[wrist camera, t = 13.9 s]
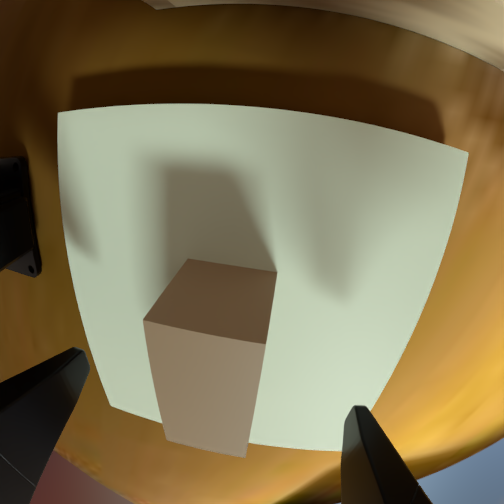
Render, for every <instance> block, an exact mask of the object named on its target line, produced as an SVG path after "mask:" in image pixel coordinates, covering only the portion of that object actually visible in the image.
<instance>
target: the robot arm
mask: <svg viewBox="0 0 504 504" xmlns="http://www.w3.org/2000/svg"><path fill="white" fill-rule="evenodd" d="M5 268H6V269H9V270H12V271H15V272H18V273H21V274H24V275H27V276H30V277H34V278H35V277H37V276H38V275H39V274H40V273H41V271H42V269H41V264H40V259H39V254H38V249H37V244H36V239H35V233H34V227H33V220H32V213H31V205H30V196H29V186H28V174H27V163H26V160H25V158H24V157H23V156H15V157H4V158H0V272H1V271H2V270H4V269H5ZM89 371H90V365H89V362H88V359H87V356H86V353H85V351H84V350H82V349H80V348H77V347H72V348H70V349H68V350H66V351H64V352H62V353H60V354H58V355H56V356H54V357H52V358H50V359H48V360H46V361H44V362H42V363H40V364H38V365H36V366H34V367H32V368H30V369H28V370H26V371H24V372H22V373H20V374H17V375H15V376H13V377H11V378H9V379H7V380H5V381H3V382H1V383H0V504H29V503H30V501H31V498H32V496H33V494H34V491H35V489H36V486H37V484H38V482H39V479H40V477H41V475H42V473H43V470H44V468H45V466H46V464H47V462H48V460H49V458H50V455H51V453H52V451H53V449H54V447H55V445H56V443H57V441H58V439H59V437H60V435H61V433H62V431H63V429H64V427H65V425H66V423H67V421H68V419H69V417H70V415H71V413H72V411H73V410H74V407H75V405H76V403H77V401H78V398H79V396H80V393H81V391H82V388H83V386H84V384H85V381H86V379H87V376H88V374H89ZM418 485H419V483H418V482H417V480H416V479H415V477H414V476H413V474H412V473H411V471H410V470H409V468H408V467H407V465H406V464H405V462H404V461H403V459H402V458H401V456H400V455H399V453H398V452H397V450H396V449H395V448H394V446H393V445H392V443H391V442H390V440H389V439H388V437H387V436H386V434H385V433H384V431H383V430H382V428H381V427H380V425H379V424H378V422H377V421H376V419H375V418H374V416H373V415H372V413H371V412H370V410H369V409H368V408H367V407H366V406H364V405H354V406H353V407H352V408H351V410H350V412H349V414H348V415H347V417H346V419H345V422H344V431H343V444H342V456H341V504H433V503H432V502H431V501H430V499H429V498H428V496H427V495H426V494H425V492H424V491H423V489H422V488H421V486H420V485H419V486H418Z"/></svg>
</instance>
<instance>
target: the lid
mask: <svg viewBox="0 0 504 504" xmlns="http://www.w3.org/2000/svg"><path fill="white" fill-rule="evenodd" d="M57 143H58V174H59V189H60V201H61V210H62V219H63V227H64V234H65V241H66V248H67V254H68V259H69V265H70V270H71V275H72V280H73V285H74V289H75V294H76V298H77V302H78V306H79V310H80V314H81V318H82V322H83V326H84V329H85V333H86V336H87V340H88V343H89V346H90V349H91V352H92V356H93V359H94V362H95V365H96V368H97V371H98V373H99V376H100V379H101V382H102V384H103V387H104V390H105V392H106V395H107V397H108V400H109V402H110V405H111V406H113V407H115V408H118V409H121V410H124V411H126V412H129V413H132V414H135V415H138V416H141V417H144V418H147V419H151V420H154V421H157V422H160V423H162V424H163V428H164V432H165V435H166V439H167V440H168V441H172V442H175V443H179V444H183V445H187V446H191V447H195V448H199V449H203V450H207V451H212V452H217V453H222V454H227V455H232V456H238V457H243V458H245V457H246V452H247V447H248V443H255V444H261V445H269V446H277V447H285V448H295V449H307V450H323V451H342V444H343V431H344V422H345V419H346V417H347V415H348V414H349V412H350V410H351V408H352V407H353V406H354V405H364V406H366V407H367V408H368V409H369V410H370V411H371V409H372V407H373V406H374V404H375V403H376V401H377V399H378V398H379V396H380V394H381V392H382V391H383V389H384V387H385V385H386V384H387V382H388V380H389V378H390V376H391V375H392V373H393V371H394V369H395V367H396V365H397V363H398V361H399V359H400V357H401V355H402V353H403V351H404V349H405V347H406V345H407V343H408V341H409V339H410V337H411V335H412V333H413V331H414V328H415V326H416V324H417V322H418V319H419V317H420V315H421V312H422V310H423V308H424V305H425V303H426V300H427V298H428V295H429V293H430V290H431V288H432V285H433V283H434V280H435V277H436V274H437V272H438V269H439V266H440V263H441V260H442V257H443V254H444V251H445V248H446V245H447V242H448V238H449V235H450V232H451V228H452V225H453V221H454V217H455V214H456V210H457V206H458V202H459V198H460V193H461V189H462V185H463V180H464V175H465V170H466V165H467V159H468V152H465V151H462V150H459V149H456V148H453V147H450V146H447V145H444V144H441V143H438V142H435V141H432V140H428V139H425V138H422V137H418V136H415V135H411V134H407V133H404V132H400V131H396V130H392V129H388V128H384V127H379V126H375V125H371V124H366V123H361V122H357V121H352V120H346V119H341V118H336V117H330V116H324V115H318V114H311V113H304V112H297V111H289V110H281V109H272V108H262V107H250V106H237V105H218V104H142V105H124V106H111V107H100V108H90V109H81V110H73V111H66V112H59V113H58V130H57Z"/></svg>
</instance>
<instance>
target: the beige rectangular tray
mask: <svg viewBox="0 0 504 504" xmlns="http://www.w3.org/2000/svg"><path fill="white" fill-rule="evenodd" d="M142 1H144V2H145V3H147V4H148V5H150V6H152V7H153V8H155V9H156V10H158V9H166V8H174V7H183V6H194V5H209V4H269V5H284V6H295V7H304V8H312V9H320V10H326V11H332V12H338V13H343V14H349V15H354V16H358V17H363V18H367V19H371V20H375V21H379V22H383V23H387V24H390V25H394V26H397V27H401V28H404V29H407V30H410V31H413V32H416V33H419V34H422V35H425V36H428V37H430V38H433V39H436V40H438V41H441V42H443V43H446V44H448V45H451V46H453V47H455V48H458V49H460V50H462V51H464V52H467V53H469V54H471V55H473V56H475V57H477V58H479V59H481V60H483V61H485V62H487V63H489V64H491V65H493V66H495V67H497V68H498V69H500V70H502V71H504V0H142Z"/></svg>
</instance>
